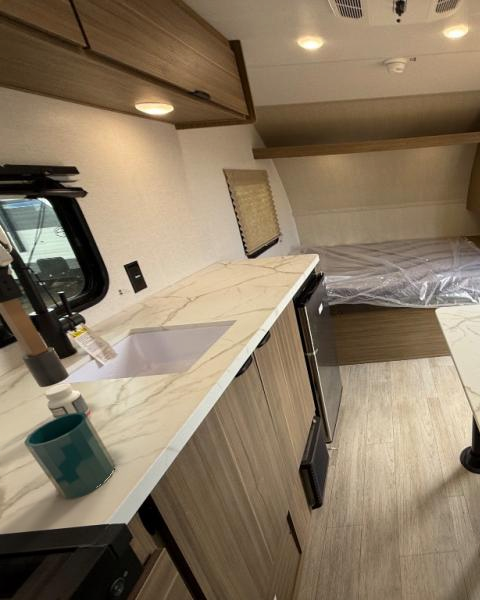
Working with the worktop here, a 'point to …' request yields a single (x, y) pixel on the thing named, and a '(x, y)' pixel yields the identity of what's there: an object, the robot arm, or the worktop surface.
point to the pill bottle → (65, 401)
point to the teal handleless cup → (71, 454)
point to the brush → (33, 346)
